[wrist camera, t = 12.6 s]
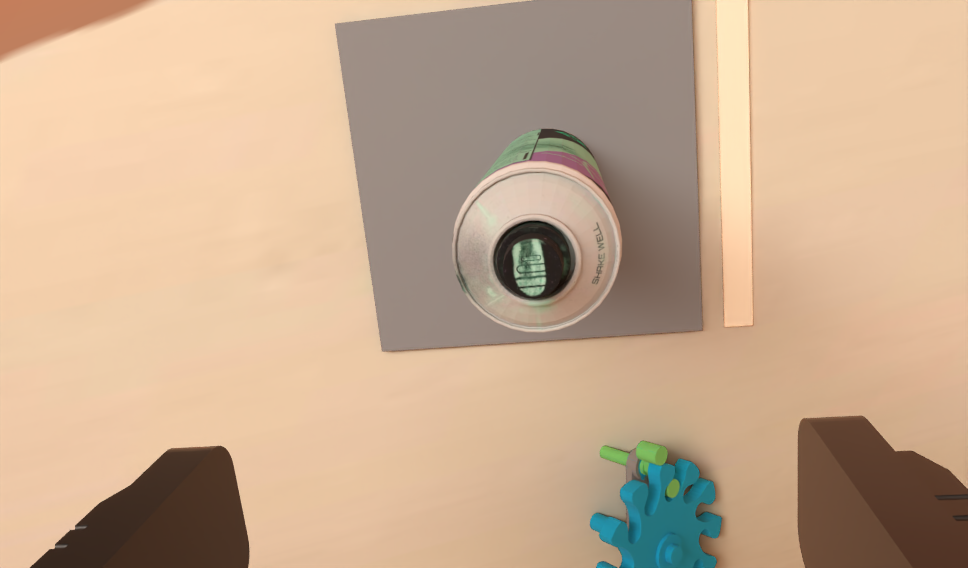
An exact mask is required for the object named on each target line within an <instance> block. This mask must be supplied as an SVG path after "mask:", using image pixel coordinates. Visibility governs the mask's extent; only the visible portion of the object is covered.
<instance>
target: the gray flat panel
mask: <svg viewBox="0 0 968 568" xmlns="http://www.w3.org/2000/svg"><path fill="white" fill-rule="evenodd" d="M335 28H336V35H337V42H338V49H339V56H340V63H341V70H342V77H343V84H344V91H345V97H346V104H347V111H348V118H349V125H350V132H351V139H352V146H353V153H354V160H355V167H356V174H357V181H358V188H359V195H360V202H361V209H362V216H363V222H364V229H365V236H366V243H367V250H368V257H369V264H370V271H371V278H372V285H373V292H374V299H375V306H376V313H377V320H378V327H379V334H380V341H381V347H382V351H397V350H412V349H427V348H442V347H458V346H473V345H488V344H503V343H518V342H534V341H549V340H564V339H579V338H594V337H610V336H625V335H640V334H655V333H670V332H686V331H701V330H702V301H701V271H700V241H699V211H698V181H697V151H696V121H695V91H694V61H693V31H692V0H532V1H524V2H515V3H507V4H498V5H490V6H481V7H473V8H464V9H456V10H447V11H439V12H430V13H422V14H413V15H405V16H397V17H388V18H380V19H371V20H363V21H354V22H346V23H337V24H335ZM716 33H717V72H718V110H719V149H720V188H721V226H722V265H723V304H724V327H734V326H749V325H753V296H752V233H751V171H750V108H749V46H748V0H716ZM541 128H554V129H559V130H563V131H566V132H568V133H571V134H573V135H574V136H576V137H577V138H579V139H580V140H581V141H582V142H583V143H584V144H585V145H586V146H587V147H588V148H589V150H590V151H591V153H592V154H593V156H594V158H595V161H596V163H597V166H598V168H599V171H600V174H601V176H602V179H603V182H604V184H605V187H606V190H607V192H608V195H609V197H610V200H611V203H612V205H613V208H614V211H615V213H616V216H617V219H618V221H619V224H620V230H621V236H622V257H621V261H620V265H619V269H618V273H617V276H616V279H615V281H614V283H613V285H612V288H611V290H610V292H609V293H608V295H607V296H606V297H605V299H604V300H603V301H602V303H601V304H600V305H599V306H598V307H597V308H596V309H595V310H594V311H593V312H592V313H590V314H589V315H588V316H587V317H585V318H584V319H582V320H580V321H579V322H577V323H575V324H573V325H571V326H568V327H565V328H563V329H560V330H555V331H549V332H524V331H519V330H514V329H510V328H508V327H505V326H503V325H501V324H498V323H496V322H495V321H493V320H491V319H490V318H488V317H487V316H485V315H484V314H483V313H482V312H481V311H479V310H478V309H477V308H476V307H475V306H474V305H473V304H472V303H471V301H470V300H469V298H468V297H467V296H466V294H465V293H464V291H463V290H462V288H461V285H460V283H459V281H458V279H457V276H456V273H455V268H454V264H453V255H452V238H453V232H454V227H455V222H456V219H457V217H458V214H459V212H460V209H461V207H462V205H463V204H464V202H465V201H466V199H467V198H468V196H469V195H470V193H471V192H472V191H473V189H474V188H475V187H476V186H477V184H478V183H479V182H480V180H481V179H482V178H483V177H484V175H485V174H486V173H487V172H488V170H489V169H490V168H491V167H492V165H493V164H494V163H495V161H496V160H497V159H498V158H499V156H500V155H501V154H502V153H503V151H504V150H505V149H506V148H507V147H508V145H509V144H510V143H511V142H512V141H513V140H515V139H516V138H518V137H519V136H521V135H522V134H524V133H527V132H529V131H531V130H536V129H541Z"/></svg>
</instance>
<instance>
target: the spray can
mask: <svg viewBox="0 0 968 568" xmlns="http://www.w3.org/2000/svg"><path fill="white" fill-rule="evenodd" d="M452 255H453V264H454V268H455V273H456V276H457V279H458V281H459V283H460V285H461V288H462V290H463V291H464V293H465V294H466V296H467V297H468V298H469V300H470V301H471V303H472V304H473V305H474V306H475V307H476V308H477V309H478V310H479V311H481V312H482V313H483V314H484V315H485V316H487V317H488V318H490V319H491V320H493V321H495V322H496V323H498V324H501V325H503V326H505V327H508V328H510V329H514V330H519V331H524V332H549V331H555V330H560V329H563V328H565V327H568V326H571V325H573V324H575V323H577V322H579V321H580V320H582V319H584V318H585V317H587V316H588V315H589V314H590V313H592V312H593V311H594V310H595V309H596V308H597V307H598V306H599V305H600V304H601V303H602V301H603V300H604V299H605V297H606V296H607V295H608V293H609V292H610V290H611V288H612V285H613V283H614V281H615V279H616V276H617V273H618V269H619V265H620V261H621V257H622V236H621V230H620V224H619V221H618V219H617V216H616V213H615V211H614V208H613V205H612V203H611V200H610V197H609V195H608V192H607V190H606V187H605V184H604V182H603V179H602V176H601V174H600V171H599V168H598V166H597V163H596V161H595V158H594V156H593V154H592V153H591V151H590V150H589V148H588V147H587V146H586V145H585V144H584V143H583V142H582V141H581V140H580V139H579V138H577V137H576V136H574V135H573V134H571V133H568V132H566V131H563V130H559V129H554V128H541V129H536V130H531V131H529V132H527V133H524V134H522V135H521V136H519V137H518V138H516V139H515V140H513V141H512V142H511V143H510V144H509V145H508V147H507V148H506V149H505V150H504V151H503V153H502V154H501V155H500V156H499V158H498V159H497V160H496V161H495V163H494V164H493V165H492V167H491V168H490V169H489V170H488V172H487V173H486V174H485V175H484V177H483V178H482V179H481V180H480V182H479V183H478V184H477V186H476V187H475V188H474V189H473V191H472V192H471V193H470V195H469V196H468V198H467V199H466V201H465V202H464V204H463V205H462V207H461V209H460V212H459V214H458V217H457V219H456V222H455V227H454V232H453V238H452Z"/></svg>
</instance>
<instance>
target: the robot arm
mask: <svg viewBox="0 0 968 568" xmlns="http://www.w3.org/2000/svg"><path fill="white" fill-rule="evenodd" d="M798 535H799V542H800V548H801V553H802V557H803V561H804V565H805V568H968V489H967V488H966V487H965V486H964V485H963V484H962V483H961V482H960V481H959V480H958V479H957V478H956V477H955V476H954V475H953V474H952V473H951V472H950V471H949V470H948V469H946V468H944V467H942V466H940V465H938V464H936V463H934V462H933V461H931V460H929V459H927V458H925V457H923V456H921V455H919V454H917V453H915V452H914V451H897V452H895V451H894V449H893V448H892V447H891V446H890V445H889V444H888V443H887V441H886V440H885V439H884V438H883V437H882V436H881V435H880V433H879V432H878V431H877V430H876V429H875V428H874V427H873V426H872V424H871V423H870V422H869V421H868V420H867V419H866V418H865V417H863V416H845V417H825V418H804V419H802V420H801V422H800V425H799V430H798ZM248 564H249V541H248V535H247V530H246V525H245V520H244V515H243V510H242V506H241V501H240V496H239V491H238V486H237V481H236V476H235V471H234V466H233V462H232V458H231V456H230V454H229V452H228V451H227V449H226V448H224V447H222V446H210V447H190V448H171V449H169V450H167V451H166V452H165V453H164V454H163V455H162V456H161V457H160V458H159V459H157V460H156V461H155V462H154V463H153V464H152V465H151V466H150V467H149V468H148V469H147V470H146V471H145V472H144V473H143V474H142V475H141V476H140V477H139V478H138V479H137V480H135V481H134V482H133V483H132V484H131V485H130V486H128V487H127V488H125V489H123V490H121V491H120V492H118V493H116V494H114V495H113V496H111V497H109V498H108V499H106V500H104V501H102V502H101V503H99V504H98V505H97V506H96V507H95V508H94V509H93V510H92V511H90V512H89V513H88V514H87V515H86V516H85V517H84V518H83V519H82V520H81V521H80V522H79V523H78V524H76V525H75V530H70V531H69V532H68V533H67V534H66V535H65V536H64V537H62V538H61V539H60V540H59V541H58V542H57V543H56V544H55V549H50V550H48V551H47V552H46V553H45V554H44V555H43V556H42V557H41V558H40V559H39V560H38V561H37V562H36V563H34V564H33V565H32V566H31V567H30V568H248Z"/></svg>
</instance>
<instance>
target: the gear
mask: <svg viewBox="0 0 968 568" xmlns="http://www.w3.org/2000/svg"><path fill="white" fill-rule="evenodd" d="M667 455H668V453H667V449H666V448H665V447H664V446H660V445H657V444H654V443H650V442H647V441H641V442H640V443H639V444H638V446H637V448H635V449H633V450H632V451H631V452H630V453H627V452H624V451H621V450H618V449H614V448H611V447H608V446H603V447H602V448H601V450H600V456H601V457H602V458H604V459H607V460H610V461H613V462H616V463H619V464H622V465H625V466H626V484H625V485H624V486H623V487H622V488H621V490H620V497H621V499H622V501H623V502H624V503H625V505H626V515H627V524H626V523H625V522H623V521H621V520H618V519H616V518H613V517H607V516H605V515H602V514H600V513H595V514H594V515H593V516H592V518H591V520H590V527H591V529H593V530H595V531H597V532H600V534H599V536H600V539H601V540H602V541H604V542H606V543H608V544H611V545H613V546H615V547H618V549H619V551H620V553H621V555H622V563H621V566H620V567H619V568H715V565H716V563H717V560H716V558H715V557H714V556H712V555H709V554H707V553H704V552H703V551H702V549H701V547H700V545H699V536H700V534H703V535H706V536H709V537H711V538H717V537H718V536H719V533H720V529H721V520H722V518H721V517H720V516H717V515H714V514H712V513H709V512H704V513H703V514H702V515H700V516H699V517H696V515H695V513H696V508H697V506H698V505H699V504H700V503H705V504H711V503H712V502H713V501H714V500H715V488H714V484H713V482H712V481H709V480H706V479H703V478H699V474H700V472H699V469H698V468H697V466H696V465H695V464H694V463H692V462H690V461H687V460H683V459H678V461H677V462H676V464H675V466H673V465H670V464H667V463H665V461H666V459H667ZM692 484H693V486H692V487H691V489H690V490H689V491H688V493H687V494H685V495H684V491H685V489H686V488H687V487H688V486H690V485H692ZM683 495H684V496H683ZM596 568H617V567H615V566H613V565H611V564H609V563H607V562H604V561H601V562H599V563H598V564H597V567H596Z"/></svg>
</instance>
